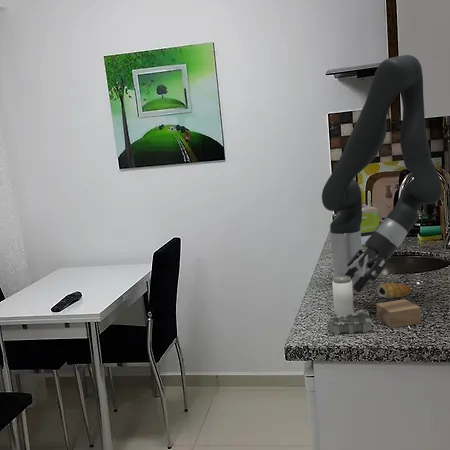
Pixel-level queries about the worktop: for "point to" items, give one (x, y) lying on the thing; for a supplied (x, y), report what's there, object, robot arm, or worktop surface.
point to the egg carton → (350, 322)
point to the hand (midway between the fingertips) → (349, 286)
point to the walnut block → (398, 313)
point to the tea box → (368, 222)
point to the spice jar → (342, 295)
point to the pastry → (393, 290)
